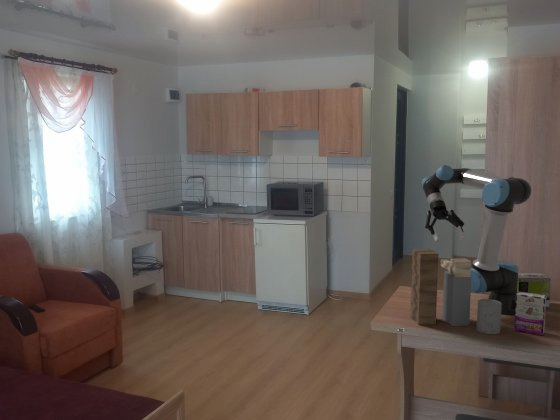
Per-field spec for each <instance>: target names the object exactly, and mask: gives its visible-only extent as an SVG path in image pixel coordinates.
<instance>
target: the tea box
mask: <svg viewBox="0 0 560 420" xmlns="http://www.w3.org/2000/svg"><path fill="white" fill-rule="evenodd" d="M518 273H519V274H518V284H517V293H518V292H525V293H533V294H540V295H546V308H550V303H551V302H550V301H551V299H550V298H551V281H552V280H551V277H549V276H547V275H546V274H544V273H542V272H541V273H540V272H529V273H528V272H524V273H523V272H518Z"/></svg>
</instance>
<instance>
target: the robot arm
mask: <svg viewBox="0 0 560 420" xmlns="http://www.w3.org/2000/svg"><path fill="white" fill-rule="evenodd" d="M449 184H451V185H452V184H462V185H465V186H470V187H474V188H477V189H478V188H479V189H482V191H481V198H482V202H483V203H484V207H485V209H486V210H487V212H486V217H485V222H484V225H483V230H482V235H481V240H480V244H479V249H478V253H477V258H476V259H474V260H473V261H472V263H471V271H470V276H471V292H472V293H474V294H485V293H488V292H489V295H488V297H487V299H492V300H496V301H499V302H501V303H502V306H501V315H515V311H516V294H517V284H518V274H519V273H520V272H519V266H518V264H516V263H512V262H508V261H503V260H499V255H500V251H501V246H502V242H503V238H504V234H505V229H506V226H507V225H506V224H507V220H508V216H509V215H510V214H512V213H513V212H514V208H515V205H520V204H523V203H525V202H527V201H528V200H529V199H530V197H531V195H532V187H531V184H530V183H529V182H528V181H527V180H526V179H523V178H517V177H513V176H510V177H503V176H498V175H493V174H488V173H484V172H480V171H475V170H472V169H471V168H469V167H468V168H466V167H461V168H452V167H451V166H450V165H447V164H443V165H441V166H440V167H439V168H437V169H436V171H435V172H434V173H433V175H428V176H426V177H424V178H423V179H422V180H421V186H422V189H423V191H424V195H425V197H426V200H427V203H428V205H429V209H430V210H428V211H427V212H426V222H425V226H424V228H425V229H426V230H428V231H429V232H430V235H432V236H433V238H434V241H435V242H437V241H438V240H439V239H440V238H439V235H438V232H437V229H436V227H435V226H434V225H435V224H436V222H437V221H440V220H446V221H447V222H449V223H450V224H451V225H453V226H454V227H456V231H457V234H458V236H459V239H460V241H462V240H464V238H465V236H464V235H465V234H464V229H463V227H464V226H465V222H464V221H463V220H462V219H461V218H460V217H459V216H458V215H457V214H456V213H455V211H454V210H453V209H450V210H447V205H446V203H445V201H444V198H443V195H442V192H441V189H442V188H443V187H444V186H445V185H449ZM432 216H433V217H434V218H433V220H432V221H431V219H432ZM430 223H431V224H430Z"/></svg>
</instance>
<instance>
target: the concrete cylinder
mask: <svg viewBox="0 0 560 420" xmlns="http://www.w3.org/2000/svg"><path fill="white" fill-rule="evenodd" d="M501 306H502V303H501V302H499V301H496V300H492V299H488V298H481V299H478V300H477V312H476V313H477V314H476V315H477V316H476V331H478V332H479V333H481V334H486V335H498V334H500V333H501V321H502V319H501V318H502V314H501Z"/></svg>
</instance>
